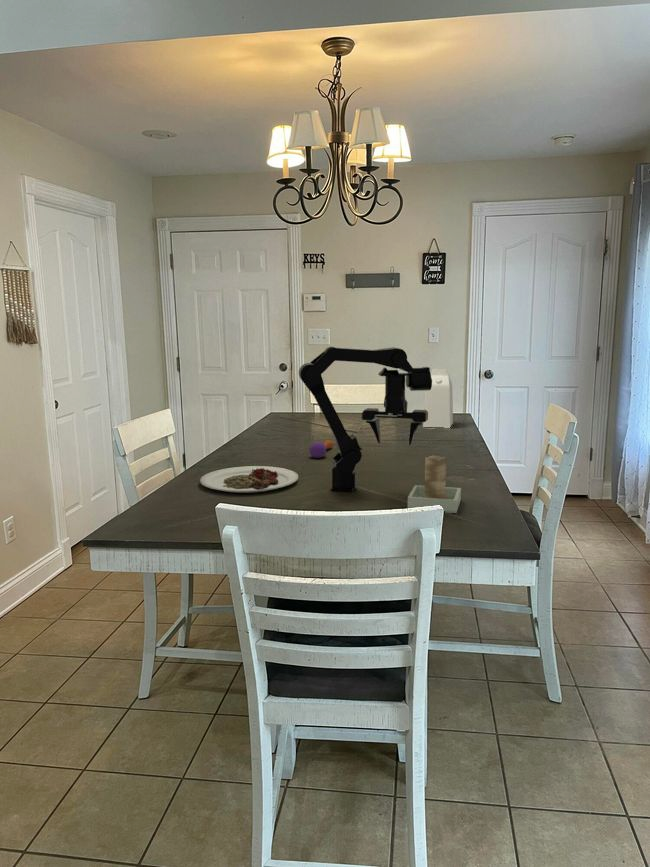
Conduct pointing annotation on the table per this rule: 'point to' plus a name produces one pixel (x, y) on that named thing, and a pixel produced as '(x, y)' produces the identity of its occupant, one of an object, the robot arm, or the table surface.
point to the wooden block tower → (435, 477)
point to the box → (435, 499)
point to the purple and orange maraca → (320, 448)
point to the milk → (439, 400)
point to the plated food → (249, 479)
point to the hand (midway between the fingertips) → (394, 443)
